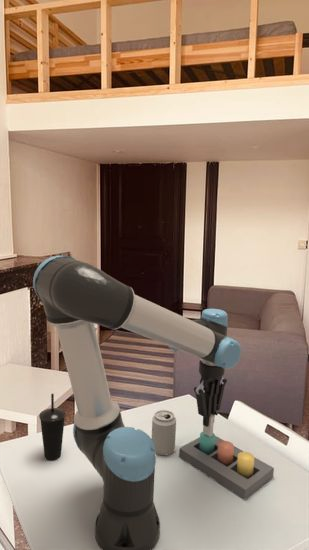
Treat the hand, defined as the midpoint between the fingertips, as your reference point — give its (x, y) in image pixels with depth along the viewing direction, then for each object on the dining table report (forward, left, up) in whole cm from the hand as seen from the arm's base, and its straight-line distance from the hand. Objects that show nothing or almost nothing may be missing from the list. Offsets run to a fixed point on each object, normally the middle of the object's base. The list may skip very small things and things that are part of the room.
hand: (207, 434), depth 123 cm
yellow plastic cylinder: (0, -14, -4) cm, 15 cm away
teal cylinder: (0, 0, -5) cm, 5 cm away
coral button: (0, -7, -4) cm, 8 cm away
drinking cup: (-36, +30, -8) cm, 48 cm away
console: (0, -7, -7) cm, 10 cm away
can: (-8, +11, -8) cm, 16 cm away
